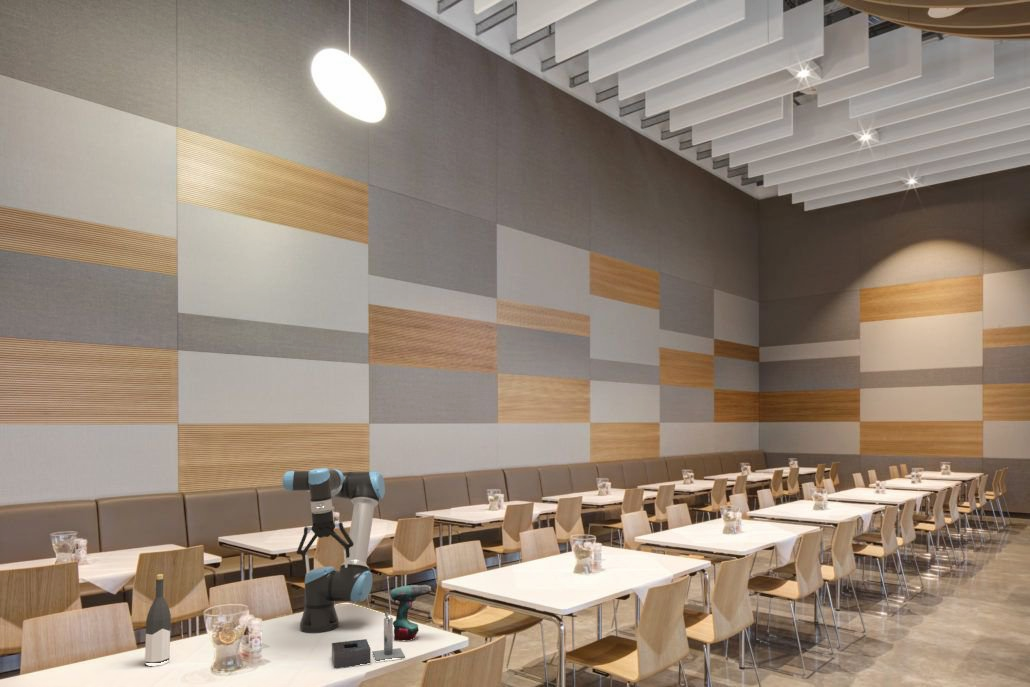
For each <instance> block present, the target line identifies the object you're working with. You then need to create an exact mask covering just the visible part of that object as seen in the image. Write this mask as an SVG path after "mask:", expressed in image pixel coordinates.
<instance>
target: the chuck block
mask: <svg viewBox="0 0 1030 687" xmlns="http://www.w3.org/2000/svg"><path fill="white" fill-rule="evenodd" d="M371 653H372V651H371V647H370V644H369V642H368V639H366V638H365V639H356V640H348V641H347V640H346V641H337V642H331V661H332V660H333V661H332V664H333V669H334V668H336V669H342V668H341V667H344V668H350V667H349V666H352V667H356V666H355V665H360V664H367V663H372V661H371ZM360 666H361V665H360Z"/></svg>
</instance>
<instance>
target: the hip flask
mask: <svg viewBox="0 0 1030 687" xmlns="http://www.w3.org/2000/svg"><path fill="white" fill-rule="evenodd" d="M384 616H385V617H384V618H383V650H384V655H392V654H393V649H394V644H393V641H394V636H393V635H394V625H393V622H394V620H393V617H392V616H391V614H390V612H389V611H387V612H385V613H384Z"/></svg>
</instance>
